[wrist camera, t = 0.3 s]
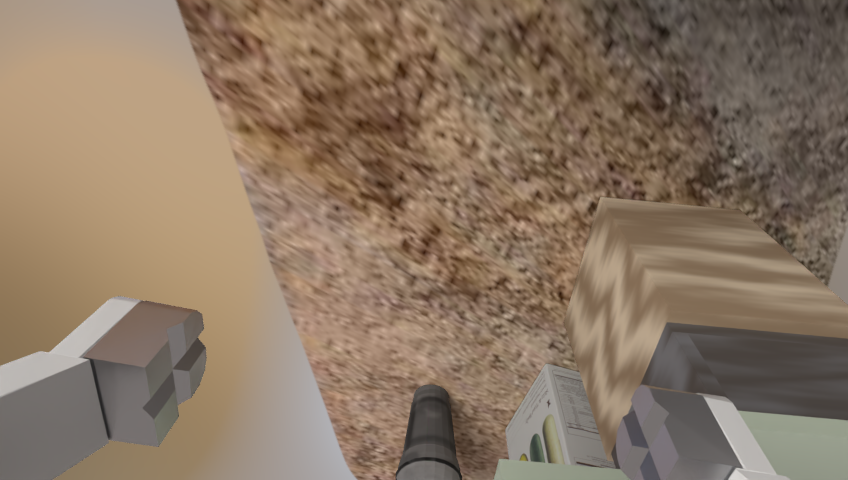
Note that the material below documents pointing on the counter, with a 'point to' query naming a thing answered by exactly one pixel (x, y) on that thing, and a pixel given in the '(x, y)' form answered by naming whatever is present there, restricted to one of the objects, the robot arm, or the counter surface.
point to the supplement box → (556, 423)
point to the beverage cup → (429, 438)
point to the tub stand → (702, 316)
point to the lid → (775, 434)
